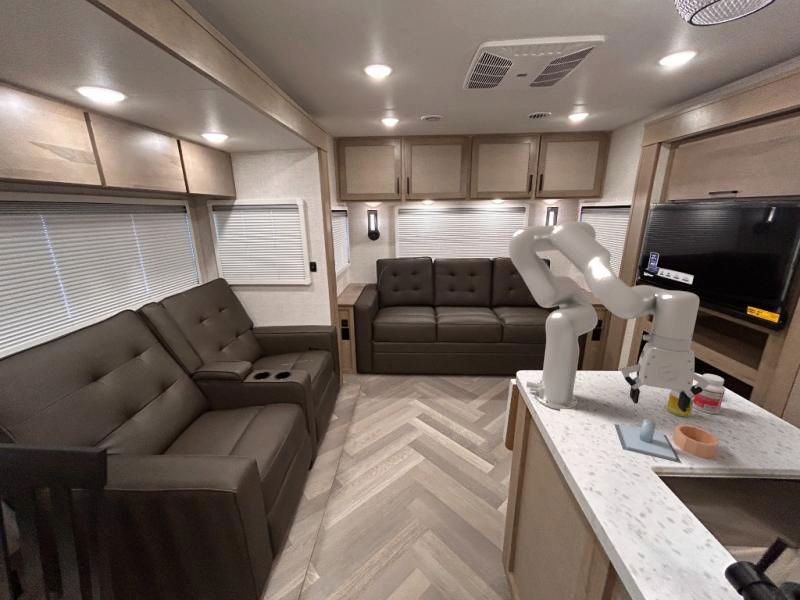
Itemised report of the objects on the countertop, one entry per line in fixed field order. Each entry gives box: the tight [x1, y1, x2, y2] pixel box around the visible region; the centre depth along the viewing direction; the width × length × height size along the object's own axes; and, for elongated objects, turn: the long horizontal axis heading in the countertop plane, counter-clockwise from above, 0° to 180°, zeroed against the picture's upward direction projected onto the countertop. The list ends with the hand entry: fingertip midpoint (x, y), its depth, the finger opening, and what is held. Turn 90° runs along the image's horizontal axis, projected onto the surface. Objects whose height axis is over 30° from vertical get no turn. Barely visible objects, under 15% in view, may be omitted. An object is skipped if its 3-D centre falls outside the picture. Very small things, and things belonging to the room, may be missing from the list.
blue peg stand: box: [618, 418, 676, 461], centre depth 82 cm, size 10×10×6 cm
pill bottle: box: [692, 373, 726, 415], centre depth 97 cm, size 6×6×11 cm
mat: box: [614, 423, 682, 464], centre depth 83 cm, size 12×11×1 cm
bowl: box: [672, 423, 720, 459], centre depth 81 cm, size 8×8×4 cm
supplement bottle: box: [666, 390, 694, 418], centre depth 94 cm, size 5×5×10 cm
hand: (657, 404), depth 79 cm, fingers open, 9 cm apart
